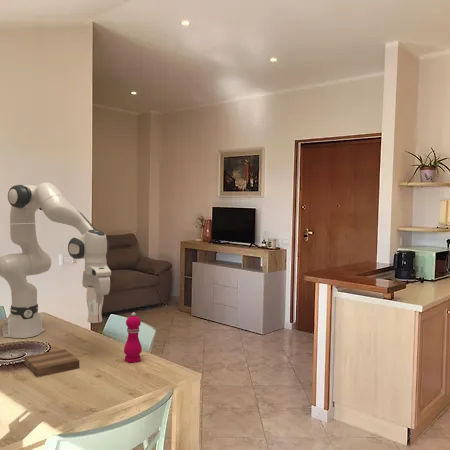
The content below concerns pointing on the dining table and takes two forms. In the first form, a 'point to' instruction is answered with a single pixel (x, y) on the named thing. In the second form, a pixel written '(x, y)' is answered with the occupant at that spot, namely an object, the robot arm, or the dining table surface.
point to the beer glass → (93, 306)
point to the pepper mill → (132, 339)
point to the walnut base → (51, 362)
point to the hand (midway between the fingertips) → (95, 301)
